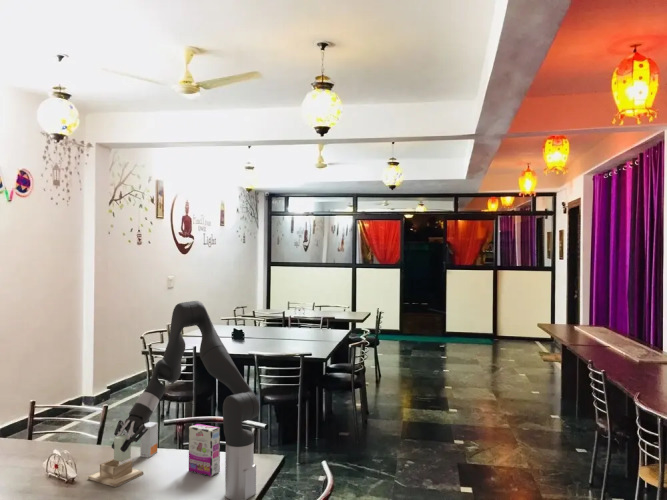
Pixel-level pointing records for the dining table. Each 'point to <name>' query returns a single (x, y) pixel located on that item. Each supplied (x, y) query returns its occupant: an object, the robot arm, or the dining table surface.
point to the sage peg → (118, 453)
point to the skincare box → (149, 440)
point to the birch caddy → (115, 473)
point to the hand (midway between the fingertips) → (118, 449)
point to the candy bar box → (204, 449)
